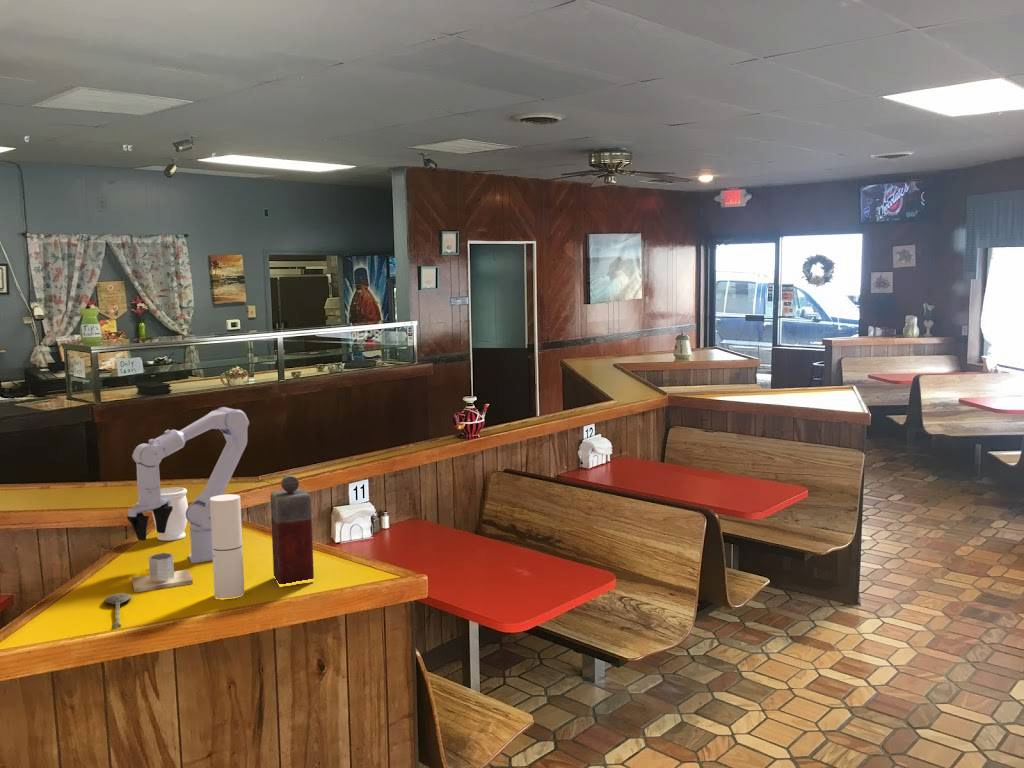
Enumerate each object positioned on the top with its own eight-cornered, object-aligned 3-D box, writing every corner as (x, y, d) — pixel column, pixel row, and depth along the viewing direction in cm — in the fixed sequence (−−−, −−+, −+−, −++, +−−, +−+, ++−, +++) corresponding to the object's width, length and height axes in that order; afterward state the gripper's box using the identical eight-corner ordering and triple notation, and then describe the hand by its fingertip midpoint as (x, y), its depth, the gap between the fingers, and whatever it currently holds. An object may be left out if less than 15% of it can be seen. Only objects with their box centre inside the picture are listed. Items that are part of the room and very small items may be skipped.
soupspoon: (133, 600, 217) (104, 605, 215) (131, 587, 217) (103, 592, 215) (132, 627, 197) (100, 633, 195) (130, 612, 197) (98, 618, 194)
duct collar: (160, 574, 231) (159, 552, 230) (178, 576, 229) (177, 554, 228) (145, 581, 225) (143, 558, 224) (163, 583, 223) (162, 560, 223)
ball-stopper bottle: (305, 570, 236) (301, 469, 233) (314, 582, 226) (310, 477, 223) (272, 575, 232) (267, 472, 229) (279, 587, 222) (275, 480, 219)
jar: (196, 536, 272) (194, 489, 270) (168, 544, 263) (165, 495, 261) (175, 531, 277) (172, 485, 276) (146, 539, 269) (143, 491, 267)
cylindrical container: (227, 602, 212) (223, 502, 209) (208, 597, 215) (203, 498, 213) (250, 593, 218) (246, 496, 215) (231, 588, 222) (227, 493, 219)
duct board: (187, 573, 235) (187, 555, 234) (192, 583, 226) (191, 565, 225) (131, 581, 228) (130, 562, 228) (134, 592, 219) (133, 573, 219)
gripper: (155, 481, 244) (157, 528, 245) (117, 492, 230) (120, 542, 231) (176, 482, 242) (178, 530, 243) (139, 494, 228) (142, 544, 229)
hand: (151, 536), depth 237 cm, fingers open, 7 cm apart
